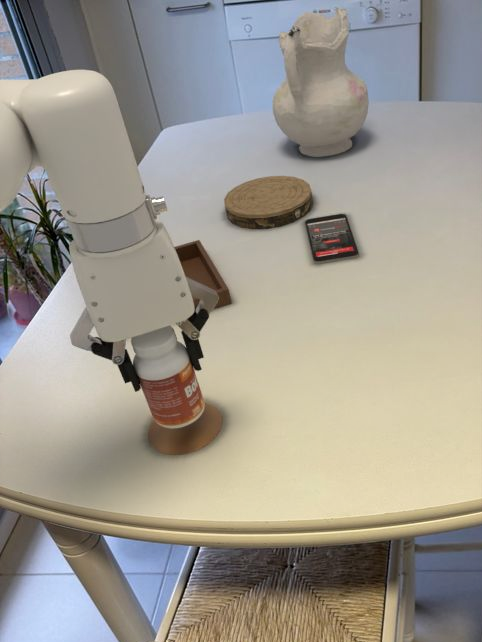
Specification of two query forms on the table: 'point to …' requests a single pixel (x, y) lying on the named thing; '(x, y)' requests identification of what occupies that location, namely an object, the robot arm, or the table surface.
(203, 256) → the tray
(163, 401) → the pill bottle
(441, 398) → the table surface
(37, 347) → the table surface
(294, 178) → the wood log slice
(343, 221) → the smartphone
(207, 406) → the coaster
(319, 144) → the ceramic pitcher
